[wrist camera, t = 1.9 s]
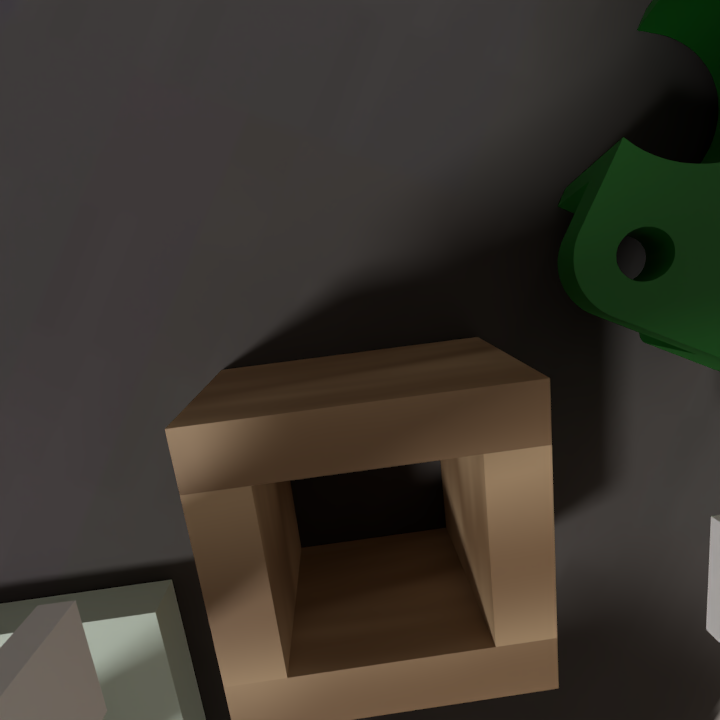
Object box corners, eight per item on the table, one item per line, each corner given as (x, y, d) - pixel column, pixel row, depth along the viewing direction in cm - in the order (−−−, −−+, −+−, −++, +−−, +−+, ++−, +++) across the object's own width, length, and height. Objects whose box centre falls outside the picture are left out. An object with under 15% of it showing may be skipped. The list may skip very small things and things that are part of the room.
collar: (221, 370, 14) (164, 429, 9) (477, 336, 15) (549, 378, 10) (264, 591, 16) (235, 737, 11) (491, 559, 16) (558, 688, 12)
